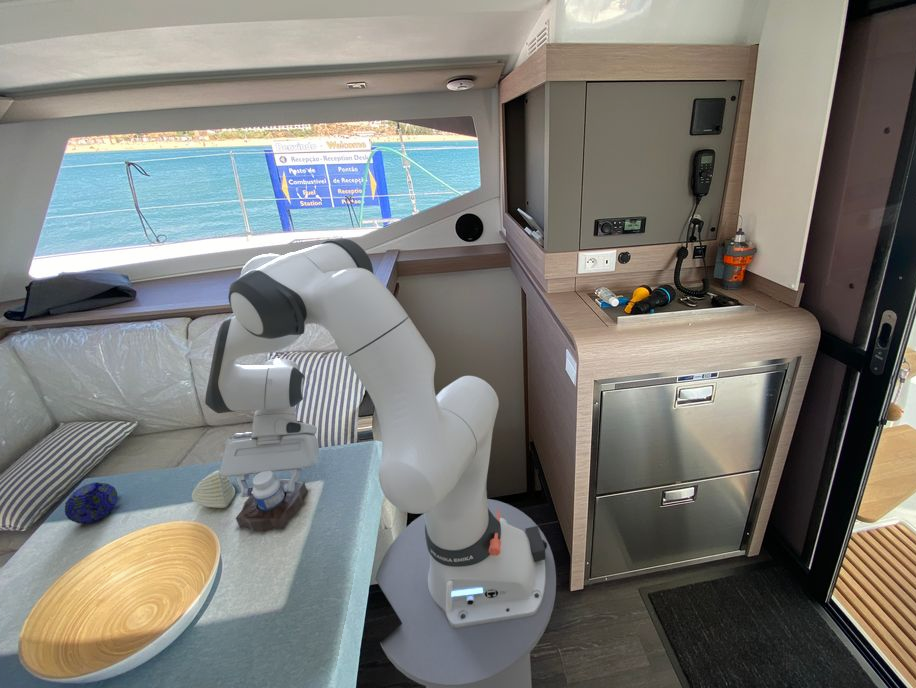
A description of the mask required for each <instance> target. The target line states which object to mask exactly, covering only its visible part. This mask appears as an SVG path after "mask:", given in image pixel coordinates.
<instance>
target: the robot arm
mask: <svg viewBox="0 0 916 688" xmlns="http://www.w3.org/2000/svg"><path fill="white" fill-rule="evenodd" d="M228 303H229V306H230V309H231V311H232V313H233V315H234V316H233V317H229V318H226V319H224V320H223V322H222V323H221V324H220V326H219V329H218V332H217V335H216V339H215V343H214V349H213V353H212V358H211V365H210V371H209V374H208V377H207V379H206V382H205V384H204V388H203V399H204V403H205V405H206V406H207V407H208V408H209V409H210V410H212V411H213V412H214V413H217V414H225V413H234V412H246V411H248V412H249V411H255V412H254V413H253V418H252V429H251V431H249V432H248V431H247V432H243V433H242V432H241V433H240V432H238V433H234V434H233V435H231V436H229V438H228V439H227V440H226V442H225V447H224V448H225V449H224V454H223V457H222V460H221V464H220V469H219V471H220V473H221V474H222V476H224V477H229V478H230V477H237V478H236V482H237V485H238V486H239V488H240V498H246V497H247V498H249V497H250V496H251V495H252V493H253V487H250V486H249V484H248V483H247V481H248V480H249V478H250V475H257V474H258V473H260V472H264V471H272V472H273V473H274V472H275V473H276V472H282V471H283V472H284V471H290V476H291V477H290V479H289V480H290V481H289V483H287V484H284V488H285V489H284V492H293V491H294V486H295V482H298V479H299V478H300V476H301V474H302V470H303V469H310V468H315V467H317V465H318V463H319V462H320V461H319V460H320V444H319V439H318V438H317V436H316V434H317V426H316V425H314V424H311V423H306V422H304V421H301V420H297V410H296V406H297V405H298V404H299V403H301V402H302V401H303V400H304V386H305V380H306V376H305V375H304V374H303V373H302V371H301V370H300V369H298V367H299V366H298V364H297V363H296V362H295V361H294V360H291V359H289V358H273V359H269V360H266V361H265V362H264V363H263V365H241V364H236V363H237V360H238V359H240V358H243V357H247V356H252V355H258V354H268V353H273V352H277V351H280V350H283V349H286V348H288V347H290V346H291V345H293V344H294V343H295V342H296V341H297V340H299V338H300V337H301V336H302V335H304V333H305V327H306V326H307V325H311V324H314V325H318V326H320V327H322V328H323V329H324V330H326V332H327V333H328V334H329V335H330V337H331V339H332V340H333V342H334V343H335V345H336V347H337V349H338V350H339V351H340V353H341V354H342V356H343V357H344V359H345V360H346V362H347V363H348V365H349V366H350V367H351V369H352V371H353V372H354V374H355V376H357V378H358V379H359V381H360V382H361V384H362V386H363V388H364V389H365V391H366V392H367V393H368V395H369V397H370V399H371V401H372V403H373V406H374V408H375V411H376V414H377V418H378V423H379V428H380V434H381V459H380V464H379V467H378V482H379V486H380V489H381V490H382V493H383V495H384V497H385V498H386V500H387V501H388V502H389V503H391V505H393V506H394V507H395V508H397V510H400V511H402V512H405V513H409V514H415V515H416V514H417V515H418V514H419V515H420V514H421V515H422V514H424V517H425V522H426V525H425V539H426V544H427V548H428V551H429V553H430V569H429V573H428V588H429V592H430V594H431V597H432V598H433V600H434V601H435V603H436V604H437V605H438V606H440V607H441V608H442V609H443V610H444V612H445V613H446V616H447V619H448V621H449V623H450V625H451V626H452V627H454V628H459V627H466V626H472V625H478V624H484V623H490V622H497V621H503V620H509V619H515V618H522V617H528V616H532V615H535V614H536V612H537V611H538V609H539V608H540V606H541V603H542V600H543V597H544V592H545V584H546V568H545V561H544V560H545V550H546V548H547V543H546V542H545V541H544V540H542V538H541V535H540V532H539V529H540V528H539V529H538V527H539V525H537V526H534V527H530V528H526V529H525V533H524V531H522V530H521V529H518V528H516V527H513V526H511V525H509V524H507V521H506V520H505V519H503V518H500V512H499V509H498V512H497V519H496V518H495V517H494V516H493V514H492V513H491V511H490V510H489V509H488V504H487V499H488V491H487V480H488V472H489V465H490V458H491V450H492V439H493V431H494V426H495V423H496V418H497V414H498V411H499V407H500V406H499V405H500V403H499V402H500V401H499V397H498V394H497V392H496V391H495V390H494V389H495V388H493V386H491V384H489V383H488V382H487V381H486V380H484V379H483V378H480V377H478V376H475V375H464V376H463V375H462V376H460V377H459V378H457V379H456V380H454V381H452V382H451V383H449V384H447V385H446V386H445V387H443V388H442V389H441V390H440V391H439V392H438V393H437V394H436V390H435V381H434V380H435V373H436V358H435V357H436V356H435V355H434V353H433V351H432V349H431V348H430V346H429V345H428V344H427V342H426V341H425V339H424V337H423V336H422V334H421V333H420V332H419V330H418V328H417V327H416V325H415V324H414V322H413V321H412V319H411V317H410V316H409V315H408V313H407V312H406V310H405V309H404V307H403V306H402V305H401V303H400V301H399V300H397V297H395V296H394V295H393V294H392V292H391V291H390V290H389V289H388V287H387V286H385V284H384V283H383V282H382V281H381V280H380V279H379V278H378V277H377V276H376V275H375V274H374V267H373V264H372V261H371V259H370V257H369V255H368V253H367V252H366V250H365V249H364V248H363V247H361V245H359V244H358V243H357V242H355V241H353V240H351V239H348V238H336V239H335V238H334V239H329V240H326V241H324V242H322V243H321V244H318V245H313V246H311V247H307V248H304V249H301V250H298V251H295V252H294V251H293V252H289V253H286V254H284V255H281V254H275V253H268V254H266V253H265V254H261V255H258V256H255V257H253V258H251V259H250V260H249V261H247V262H246V263H245V265H244V266H243V268H242V269H241V273H240V276H239V277H238V278H236V279H235V280H234V281H233V282H231V283H230V286H229V290H228ZM535 596H539V597H538V598H535ZM507 611H509V612H507ZM462 616H465V618H464V619H461V617H462Z"/></svg>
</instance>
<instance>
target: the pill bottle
mask: <svg viewBox="0 0 916 688" xmlns="http://www.w3.org/2000/svg"><path fill="white" fill-rule="evenodd" d="M280 480H281V479H280V478H278V477H277V476H275V474H274V472H272V471H264V472H260V473H257V474H255V476H253V478H252V485H253V487H252V493H253V495H254V498H255V500H256V503H257V505H258V507H259V510H260V511H268V510H271V509H273V508H275V507H277V506H279V505H280V504H281V503H282V502H283V501H284V499H285V498H286V496H285V494H284V491H283V488H282V485H281V482H280Z"/></svg>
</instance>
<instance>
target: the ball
mask: <svg viewBox="0 0 916 688" xmlns="http://www.w3.org/2000/svg"><path fill="white" fill-rule="evenodd" d="M118 496H119V495H118V491H117V489H116V488H115V486H114V485H112V484H109V483H105V482H91V483H88V484H84V485H82V486H81V487H79V488H78V489H76V490H75V491H73V492H72V493H71V495H70V496H69V497H68V498H67V500H66V501H65V505H64V514H65V516H66V518H67V519H68V520H69V521H71V522H74V523H76V524H91V523H94V522H98V521H100V520H101V519H103V518H105V517H106V516H107V515H108V514H110V513H111V512H112V511H113V509H114V508H115V506H116V505H117V503H118Z"/></svg>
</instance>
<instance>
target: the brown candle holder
mask: <svg viewBox="0 0 916 688" xmlns="http://www.w3.org/2000/svg"><path fill="white" fill-rule="evenodd" d="M279 480H280V482H281V485H282V488H283V491H284V489H285V488H284V484H287V483H289V481H290V479H288V478H287V479H285V478H284V479H283V478H281V479H279ZM307 488H308V487H307V486H306V483H305V482H304V481H296V482H295V486H294V491H293V492H284V494H285V496H286V498H285V499H284V501H283V502H282V503H281V504H280V505H279V506H277V507H275V508H273V509H271V510H268V511H260V510H259V507H258V505H257V503H256V500H255V498H254V495H253V492H252V495H251V496H249V497H247V499H246V500H245V501H244V503H243V506H242V509H241V510H240V512H239V513H238V514H237V515H236V517H235V520H236V523H237V525H238V527H239V528H240V529H250V530H251V531H253V532H267V531H271V530H284V529H285V528H286V526H287V524H288V522H289V521H290V520H291V519H292V518H294V517H295V516H296V514H298V512H299V511H300V508H301V507H302V505H303V499H304V498H305V496H306V495H307V493H308V489H307Z"/></svg>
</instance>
